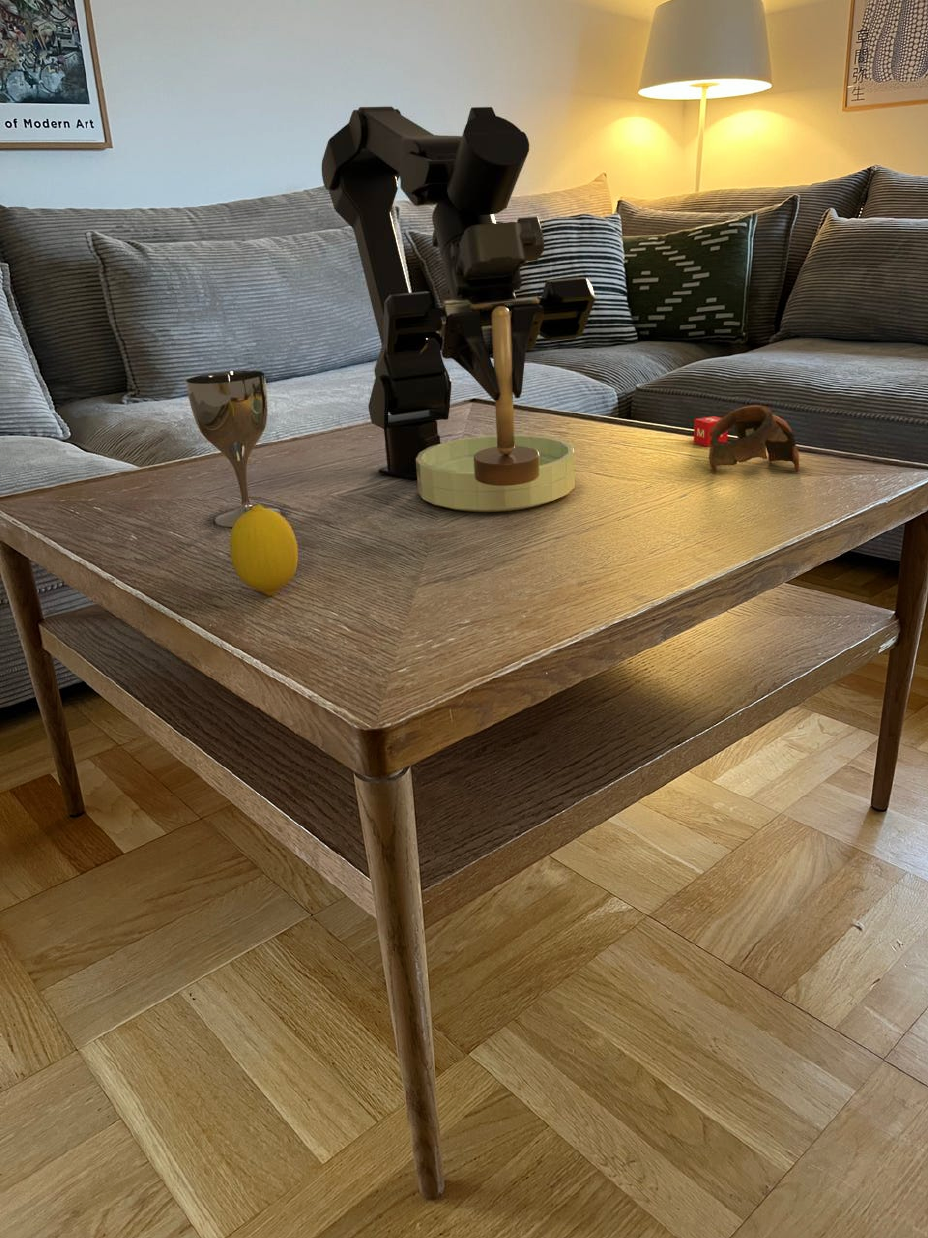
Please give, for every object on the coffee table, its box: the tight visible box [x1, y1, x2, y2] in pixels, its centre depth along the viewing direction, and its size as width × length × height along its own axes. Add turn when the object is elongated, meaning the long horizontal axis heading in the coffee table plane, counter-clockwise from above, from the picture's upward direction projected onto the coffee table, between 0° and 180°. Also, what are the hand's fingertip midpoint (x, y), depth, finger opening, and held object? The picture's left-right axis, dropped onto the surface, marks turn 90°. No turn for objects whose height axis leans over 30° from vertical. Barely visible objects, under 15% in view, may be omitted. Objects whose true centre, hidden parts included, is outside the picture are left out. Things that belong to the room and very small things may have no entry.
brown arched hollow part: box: [708, 404, 801, 473], centre depth 104 cm, size 12×9×8 cm
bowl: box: [416, 434, 576, 513], centre depth 102 cm, size 17×17×4 cm
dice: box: [693, 415, 729, 447], centre depth 117 cm, size 3×3×3 cm
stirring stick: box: [474, 306, 540, 486], centre depth 81 cm, size 6×6×15 cm
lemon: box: [229, 504, 299, 597], centre depth 76 cm, size 6×6×8 cm
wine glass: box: [185, 370, 282, 528], centre depth 97 cm, size 8×8×15 cm
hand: (508, 396), depth 80 cm, fingers closed on stirring stick
